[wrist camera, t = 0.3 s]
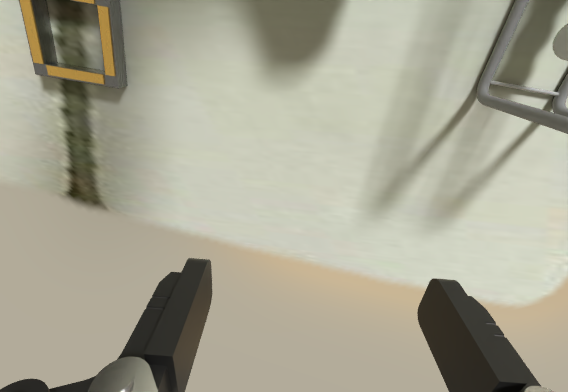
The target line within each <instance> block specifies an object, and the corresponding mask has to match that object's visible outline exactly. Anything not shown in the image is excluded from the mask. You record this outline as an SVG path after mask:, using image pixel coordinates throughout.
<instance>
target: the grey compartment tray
mask: <svg viewBox="0 0 568 392" xmlns="http://www.w3.org/2000/svg"><path fill="white" fill-rule="evenodd" d="M72 1H77V2H83V3H88V4H93V5H97V7H98V16H99V24H100V33H101V41H102V50H103V58H104V66H105V71H103V70H97V69H91V68H85V67H79V66H74V65H68V64H62V63H58V62H57V57H56V52H55V46H54V41H53V36H52V30H51V25H50V20H49V14H48V9H47V4H46V0H19V3H20V7H21V12H22V16H23V21H24V25H25V29H26V34H27V38H28V43H29V47H30V52H31V56H32V61H33V65H34V70H35V74H37V75H43V76H49V77H55V78H60V79H66V80H72V81H78V82H84V83H90V84H96V85H102V86H108V87H114V88H122V87H125V86H127V76H126V65H125V53H124V42H123V30H122V19H121V7H120V0H72Z"/></svg>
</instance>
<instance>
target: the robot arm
mask: <svg viewBox="0 0 568 392" xmlns="http://www.w3.org/2000/svg"><path fill="white" fill-rule="evenodd" d="M211 298H212V274H211V261H210V260H205V259H194V258H189V259H188V260H187V262H186V264H185V266H184V268H183V270H182V272H181V273H179V272H171V273H170V274H168V275H167V276H166V277H165V278H164V279H163V280H162V281H160V282H159V284H158V286H157V288H156V290H155V292H154V294H153V295H152V298H151V299H150V301H149V303H148V305H147V308H146V309H145V310H144V312H143V314H142V316H141V318H140V320H139V322H138V324H137V325H136V328H135V329H134V331H133V333H132V335H131V337H130V339H129V341H128V342H127V344H126V346H125V348H124V350H123V352H122V354H121V355H120V356H119V358H118V359H117V360H116V361H114V362H112V363H110V364H109V365H107V366H106V367H105V368H103V369H102V370H101V371H100V372H99V373H98V374H97V375H96V376H95V377H92V378H90V379H87V380H84V381H80V382H76V383H72V384H68V385H64V386H60V387H56V388H52V389H48V387H47V385H46V384H45V383H44V382H43V381H41V380H38V379H25V380H21V381H17V382H14V383H12V384H10V385H8V386H6V387H4V388H2V389H1V390H0V392H185V389H186V385H187V382H188V379H189V376H190V372H191V369H192V365H193V362H194V359H195V356H196V352H197V349H198V346H199V342H200V339H201V336H202V332H203V329H204V325H205V322H206V319H207V315H208V312H209V309H210V304H211ZM418 321H419V325H420V327H421V329H422V332H423V334H424V336H425V338H426V341H427V343H428V345H429V347H430V350H431V352H432V354H433V356H434V359H435V361H436V363H437V365H438V368H439V370H440V372H441V374H442V377H443V379H444V381H445V383H446V385H447V388H448V390H449V392H554V391H552V390H550V389H547V388H544V387H541V385H540V384H539V383H538V381H537V380H536V379H535V377H534V376H533V374H532V373H531V372H530V370H529V369H528V368H527V366H526V365H525V363H524V362H523V360H522V359H521V357H520V356H519V355H518V353H517V352H516V350H515V349H514V348H513V346H512V345H511V343H510V342H509V341H508V339H507V338H505V337H504V334H503V332H502V331H501V330H500V328H499V327H498V326H496V323H495V321H494V320H493V318H492V317H491V316H490V314H489V313H488V311H487V310H486V309H485V308H484V307H483V306H482V305H481V304H480V303H479V302H477V301H476V300H475V299H474V298H473V297H472V296H468V295H467V294H466V293H465V291H464V290H463V288H462V287H461V285H460V284H459V283H458V282H457V281H455V280H446V279H432V280H431V281H430V282H429V285H428V287H427V289H426V291H425V294H424V296H423V298H422V300H421V303H420V305H419V307H418Z"/></svg>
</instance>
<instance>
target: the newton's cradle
mask: <svg viewBox="0 0 568 392" xmlns="http://www.w3.org/2000/svg"><path fill="white" fill-rule="evenodd" d="M528 2H529V0H516V1H515V3H514V5H513V7H512V10H511V12H510V14H509V16H508V18H507V21H506V23H505V25H504V27H503V30H502V32H501V34H500V36H499V38H498V41H497V43H496V45H495V47H494V50H493V52H492V54H491V56H490V58H489V61H488V63H487V65H486V67H485V70H484V72H483V74H482V76H481V78H480V81H479V84H478V87H477V98H478V100H479V102H480V103H482V104H483V105H485V106H488V107H491V108H494V109H497V110H500V111H503V112H506V113H509V114H512V115H514V116H517V117H520V118H523V119H526V120H529V121H532V122H535V123H538V124H541V125H544V126H547V127H549V128H552V129H555V130H558V131H561V132H564V133H567V134H568V109H567V108H566V105H565V103H566V99H567V97H568V74H567V75H566V77H565V79H564V80H563V82H562V84H561V86H560V87H559V89H558V91H557V92H553V91H548V90H542V89H537V88H531V87H526V86H520V85H515V84H509V83H504V82H498V81H493V80H492V78H493V76H494V74H495V72H496V70H497V68H498V66H499V63H500V61H501V59H502V57H503V55H504V53H505V51H506V49H507V46H508V44H509V42H510V40H511V38H512V36H513V34H514V31H515V29H516V27H517V25H518V23H519V21H520V19H521V16H522V14H523V12H524V10H525V8H526V6H527V4H528ZM553 51H554V53H555V54H556V56H557V57H559V58H560V59H563V60H567V61H568V24H567V25H565V26H564V27H563V28H562V29H561V30H560V31H559V32H558V33H557V35H556V36H555V38H554V41H553ZM490 84H493V85H499V86H504V87H510V88H515V89H521V90H526V91H532V92H537V93H543V94H548V95H554V96H555V97H554V99H553V103H552V108H553V112H554V113H552V112H548V111H545V110H541V109H538V108H534V107H531V106H527V105H523V104H520V103H516V102H513V101H509V100H506V99H502V98H499V97H495V96H492V95H489V86H490Z"/></svg>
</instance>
